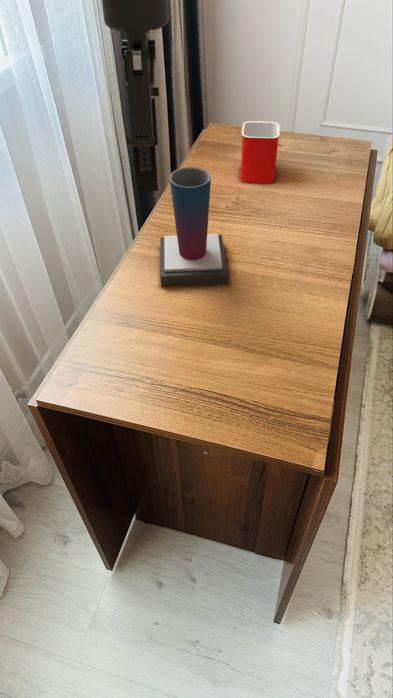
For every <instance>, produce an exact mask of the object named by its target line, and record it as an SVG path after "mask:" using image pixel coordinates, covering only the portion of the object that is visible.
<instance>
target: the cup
mask: <svg viewBox="0 0 393 698" xmlns="http://www.w3.org/2000/svg"><path fill="white" fill-rule="evenodd" d="M211 183H212V175H211V173H210V171H208V170H207V169H205V168H202V167H197V166H184V167H180V168H177V169H175V170H173V171H172V172H171V173H170V175H169V185H170V193H171V200H172V208H173V214H174V223H175V231H176V235H177V239H178V247H179V254H180V256H181V257H183V258H184V259H187V260H197V259H200V258H202V257H203V256H204V255H205V254H206V245H207V234H208V228H209V213H210V198H211V197H210V196H211Z"/></svg>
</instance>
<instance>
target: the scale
mask: <svg viewBox="0 0 393 698" xmlns="http://www.w3.org/2000/svg"><path fill="white" fill-rule="evenodd" d="M159 242H160V251H159V252H160V255H159V257H160V259H159V260H160V262H159V266H160V267H159V268H160V269H159V272H160V273H159V274H160V275H159V278H160V287H161V288H164V287H185V286H187V287H189V286H205V285H207V286H208V285H227V284H228V269H227V260H226V255H225V246H224V240H223V234H219V233H207V245H206V254H205V255H204V256H203V257H202V258H200V259H197V260H187V259H184V258H183V257H181V256H180V254H179V247H178V239H177V234H176V235H164V237H163V236H162V237H160V241H159Z"/></svg>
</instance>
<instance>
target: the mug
mask: <svg viewBox="0 0 393 698" xmlns="http://www.w3.org/2000/svg"><path fill="white" fill-rule="evenodd" d="M280 134H281V124H280V123H279V122H276V121H264V120H263V121H258V120H248V121H247V120H246V121H244V122H243V123H242V127H241V154H240V155H241V156H240V157H241V158H240V174H239V175H240V176H239V177H240V180H241V182H244V183H254V184H255V183H257V184H270V183H273V182H274V181H275V175H276V165H277V158H278V157H277V156H278V146H279V138H280V136H281V135H280Z"/></svg>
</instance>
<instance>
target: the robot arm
mask: <svg viewBox="0 0 393 698" xmlns="http://www.w3.org/2000/svg"><path fill="white" fill-rule="evenodd" d="M101 5H102V6H101V8H102V16H103V21H104V24H105V25H106V27H108V28H109V29H111V30H113V31H116V32H120V31H121V32H123V33H125V34H126V39H122V46H121V58H122V62H123V64H124V79H125V83H126V86H127V88H128V90H127V91H128V101H129V103H128V104H129V115H130V116H129V117H130V128H131V129H130V130H131V131H130V132H131V137H129V138H126V145H127V146H132V150H133V159H134V160H133V161H134V171H135V178H136V188H137V189H136V190H137V192H141V193H142V192H143V193H144V192H159V183H158V182H159V181H158V169H157V167H158V166H157V153H156V146H158V145H159V140H158V125H157V109H156V107H157V106H156V98H155V97H160V89H159V87H157V86H155V83H156V82H155V80H156V79H155V78H156V77H155V68H156V66H155V65H156V59H157V58H156V38H155V39H152V38H151V37H150V31H156V30H160V29H162V28H164V27H165V26H166V25H167V24H169V23H168V22H169V19H170V12H169V0H101ZM154 86H155V87H154Z"/></svg>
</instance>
